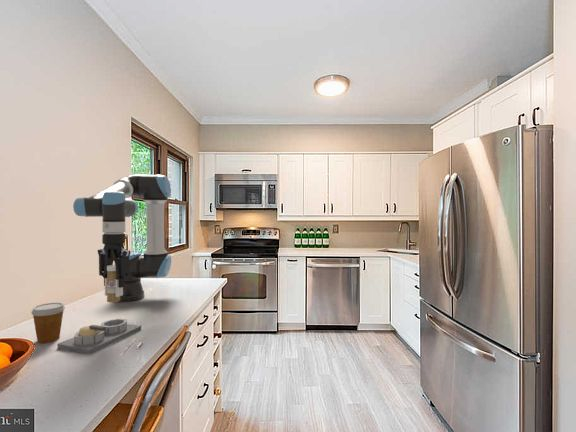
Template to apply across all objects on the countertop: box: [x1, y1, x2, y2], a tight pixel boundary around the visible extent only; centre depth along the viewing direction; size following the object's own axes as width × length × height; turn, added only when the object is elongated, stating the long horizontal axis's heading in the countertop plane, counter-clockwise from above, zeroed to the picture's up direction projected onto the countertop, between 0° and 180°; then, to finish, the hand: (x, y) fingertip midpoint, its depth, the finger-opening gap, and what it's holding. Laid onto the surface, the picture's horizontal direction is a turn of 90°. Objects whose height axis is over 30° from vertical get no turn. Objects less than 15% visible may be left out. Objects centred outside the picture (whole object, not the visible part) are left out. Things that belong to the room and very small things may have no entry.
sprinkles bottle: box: [106, 264, 120, 303], centre depth 117 cm, size 5×5×14 cm
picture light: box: [119, 337, 144, 357], centre depth 107 cm, size 14×4×2 cm, turn 7°
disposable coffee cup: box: [30, 302, 66, 344], centre depth 112 cm, size 10×10×12 cm
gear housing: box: [57, 318, 142, 355], centre depth 113 cm, size 22×14×6 cm, turn 162°
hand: (113, 295), depth 118 cm, fingers closed on sprinkles bottle, 4 cm apart
